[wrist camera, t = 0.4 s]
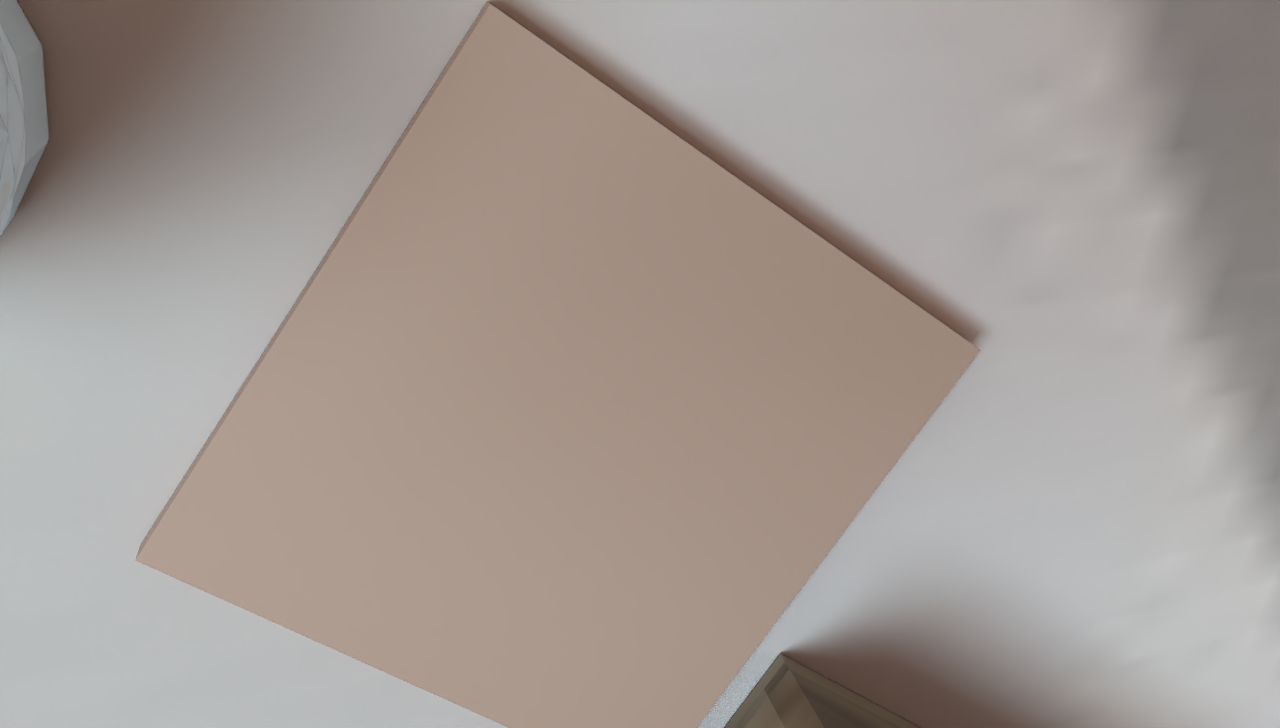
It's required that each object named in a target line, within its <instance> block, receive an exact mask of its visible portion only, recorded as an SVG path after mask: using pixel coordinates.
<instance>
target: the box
mask: <svg viewBox="0 0 1280 728" xmlns="http://www.w3.org/2000/svg"><path fill="white" fill-rule="evenodd" d="M724 728H920V727H918V726H917V725H915V724H913V723H911V722H909V721H907V720H905V719H903V718H901V717H899V716H898V715H896V714H894V713H892V712H890V711H888V710H886V709H884V708H882V707H880V706H879V705H877V704H875V703H873V702H871V701H869V700H867V699H865V698H863V697H861V696H860V695H858V694H856V693H854V692H852V691H850V690H848V689H846V688H844V687H842V686H841V685H839V684H837V683H835V682H833V681H831V680H829V679H827V678H825V677H824V676H822V675H820V674H818V673H816V672H814V671H812V670H810V669H808V668H806V667H805V666H803V665H801V664H799V663H797V662H795V661H793V660H791V659H789V658H787V657H786V656H784V655H782V654H780V655H779V656H778V657H777V659H776V660H775V661H774V663H773V664H772V665H771V667H770V668H769V669H768V671H767V672H766V673H765V675H764V676H763V677H762V679H761V680H760V681H759V682H758V684H757V685H756V686H755V688H754V689H753V690H752V692H751V693H750V694H749V696H748V697H747V698H746V700H745V701H744V702H743V704H742V705H741V706H740V708H739V709H738V710H737V712H736V713H735V714H734V716H733V717H732V718H731V720H730V721H729V722H728V723H727V725H726V726H725V727H724Z"/></svg>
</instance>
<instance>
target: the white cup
mask: <svg viewBox="0 0 1280 728" xmlns="http://www.w3.org/2000/svg"><path fill="white" fill-rule="evenodd" d="M48 141H49V131H48V118H47V104H46V90H45V77H44V63H43V49H42V45H41V43H40V41H39V39H38V38H37V36H36V34H35V32H34V30H33V29H32V27H31V25H30V23H29V22H28V20H27V18H26V16H25V15H24V13H23V11H22V9H21V7H20V6H19V4H18V2H17V0H0V236H1V234H2V232H3V230H4V229H5V228H6V227H7V226H8V224H9V223H10V222H11V221H12V219H13V217H14V215H15V213H16V211H17V209H18V206H19V204H20V202H21V200H22V198H23V195H24V193H25V191H26V189H27V187H28V185H29V182H30V180H31V178H32V176H33V174H34V171H35V169H36V167H37V165H38V163H39V161H40V158H41V156H42V154H43V152H44V150H45V148H46V145H47V143H48Z"/></svg>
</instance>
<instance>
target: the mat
mask: <svg viewBox="0 0 1280 728" xmlns="http://www.w3.org/2000/svg"><path fill="white" fill-rule="evenodd" d="M979 351H980V349H978V348H977V347H976V346H974V345H973V344H971V343H970V342H969V341H967V340H966V339H964V338H963V337H961V336H960V335H959V334H957V333H956V332H954V331H953V330H952V329H950V328H949V327H947V326H946V325H944V324H943V323H942V322H940V321H939V320H937V319H936V318H935V317H933V316H932V315H930V314H929V313H927V312H926V311H925V310H923V309H922V308H920V307H919V306H918V305H916V304H915V303H913V302H912V301H910V300H909V299H908V298H906V297H905V296H903V295H902V294H901V293H899V292H898V291H896V290H895V289H893V288H892V287H891V286H889V285H888V284H886V283H885V282H884V281H882V280H881V279H879V278H878V277H876V276H875V275H874V274H872V273H871V272H869V271H868V270H867V269H865V268H864V267H862V266H861V265H860V264H858V263H857V262H855V261H854V260H852V259H851V258H850V257H848V256H847V255H845V254H844V253H843V252H841V251H840V250H838V249H837V248H835V247H834V246H833V245H831V244H830V243H828V242H827V241H826V240H824V239H823V238H821V237H820V236H818V235H817V234H816V233H814V232H813V231H811V230H810V229H809V228H807V227H806V226H804V225H803V224H801V223H800V222H799V221H797V220H796V219H794V218H793V217H792V216H790V215H789V214H787V213H786V212H784V211H783V210H782V209H780V208H779V207H777V206H776V205H775V204H773V203H772V202H770V201H769V200H767V199H766V198H765V197H763V196H762V195H760V194H759V193H758V192H756V191H755V190H753V189H752V188H750V187H749V186H748V185H746V184H745V183H743V182H742V181H741V180H739V179H738V178H736V177H735V176H734V175H732V174H731V173H729V172H728V171H726V170H725V169H724V168H722V167H721V166H719V165H718V164H717V163H715V162H714V161H712V160H711V159H709V158H708V157H707V156H705V155H704V154H702V153H701V152H700V151H698V150H697V149H695V148H694V147H692V146H691V145H690V144H688V143H687V142H685V141H684V140H683V139H681V138H680V137H678V136H677V135H675V134H674V133H673V132H671V131H670V130H668V129H667V128H666V127H664V126H663V125H661V124H660V123H658V122H657V121H656V120H654V119H653V118H651V117H650V116H649V115H647V114H646V113H644V112H643V111H641V110H640V109H639V108H637V107H636V106H634V105H633V104H632V103H630V102H629V101H627V100H626V99H625V98H623V97H622V96H620V95H619V94H617V93H616V92H615V91H613V90H612V89H610V88H609V87H608V86H606V85H605V84H603V83H602V82H600V81H599V80H598V79H596V78H595V77H593V76H592V75H591V74H589V73H588V72H586V71H585V70H583V69H582V68H581V67H579V66H578V65H576V64H575V63H574V62H572V61H571V60H569V59H568V58H566V57H565V56H564V55H562V54H561V53H559V52H558V51H557V50H555V49H554V48H552V47H551V46H549V45H548V44H547V43H545V42H544V41H542V40H541V39H540V38H538V37H537V36H535V35H534V34H532V33H531V32H530V31H528V30H527V29H525V28H524V27H523V26H521V25H520V24H518V23H517V22H516V21H514V20H513V19H511V18H510V17H508V16H507V15H506V14H504V13H503V12H501V11H500V10H499V9H497V8H496V7H494V6H493V5H491V4H490V3H488V2H486V4H485V6H484V7H483V9H482V10H481V12H480V13H479V15H478V17H477V18H476V20H475V21H474V23H473V24H472V26H471V28H470V29H469V31H468V32H467V34H466V35H465V37H464V38H463V40H462V42H461V43H460V45H459V46H458V48H457V49H456V51H455V53H454V54H453V56H452V57H451V59H450V60H449V62H448V64H447V65H446V67H445V68H444V70H443V71H442V73H441V75H440V76H439V78H438V79H437V81H436V82H435V84H434V86H433V87H432V89H431V90H430V92H429V93H428V95H427V96H426V98H425V100H424V101H423V103H422V104H421V106H420V107H419V109H418V111H417V112H416V114H415V115H414V117H413V118H412V120H411V122H410V123H409V125H408V126H407V128H406V129H405V131H404V133H403V134H402V136H401V137H400V139H399V140H398V142H397V144H396V145H395V147H394V148H393V150H392V151H391V153H390V154H389V156H388V158H387V159H386V161H385V162H384V164H383V165H382V167H381V169H380V170H379V172H378V173H377V175H376V176H375V178H374V180H373V181H372V183H371V184H370V186H369V187H368V189H367V191H366V192H365V194H364V195H363V197H362V198H361V200H360V202H359V203H358V205H357V206H356V208H355V209H354V211H353V212H352V214H351V216H350V217H349V219H348V220H347V222H346V223H345V225H344V227H343V228H342V230H341V231H340V233H339V234H338V236H337V238H336V239H335V241H334V242H333V244H332V245H331V247H330V249H329V250H328V252H327V253H326V255H325V256H324V258H323V260H322V261H321V263H320V264H319V266H318V267H317V269H316V270H315V272H314V274H313V275H312V277H311V278H310V280H309V281H308V283H307V285H306V286H305V288H304V289H303V291H302V292H301V294H300V296H299V297H298V299H297V300H296V302H295V303H294V305H293V307H292V308H291V310H290V311H289V313H288V314H287V316H286V318H285V319H284V321H283V322H282V324H281V325H280V327H279V328H278V330H277V332H276V333H275V335H274V336H273V338H272V339H271V341H270V343H269V344H268V346H267V347H266V349H265V350H264V352H263V354H262V355H261V357H260V358H259V360H258V361H257V363H256V365H255V366H254V368H253V369H252V371H251V372H250V374H249V375H248V377H247V379H246V380H245V382H244V383H243V385H242V386H241V388H240V390H239V391H238V393H237V394H236V396H235V397H234V399H233V401H232V402H231V404H230V405H229V407H228V408H227V410H226V412H225V413H224V415H223V416H222V418H221V419H220V421H219V423H218V424H217V426H216V427H215V429H214V430H213V432H212V433H211V435H210V437H209V438H208V440H207V441H206V443H205V444H204V446H203V448H202V449H201V451H200V452H199V454H198V455H197V457H196V459H195V460H194V462H193V463H192V465H191V466H190V468H189V470H188V471H187V473H186V474H185V476H184V477H183V479H182V481H181V482H180V484H179V485H178V487H177V488H176V490H175V491H174V493H173V495H172V496H171V498H170V499H169V501H168V502H167V504H166V506H165V507H164V509H163V510H162V512H161V513H160V515H159V517H158V518H157V520H156V521H155V523H154V524H153V526H152V528H151V529H150V531H149V532H148V534H147V535H146V537H145V539H144V540H143V542H142V543H141V545H140V548H139V551H138V554H137V557H136V561H138V562H140V563H142V564H145V565H147V566H149V567H151V568H154V569H156V570H158V571H160V572H163V573H165V574H167V575H169V576H172V577H174V578H176V579H178V580H180V581H183V582H185V583H187V584H189V585H192V586H194V587H196V588H198V589H201V590H203V591H205V592H207V593H209V594H212V595H214V596H216V597H218V598H221V599H223V600H225V601H227V602H230V603H232V604H234V605H236V606H239V607H241V608H243V609H245V610H247V611H250V612H252V613H254V614H256V615H259V616H261V617H263V618H265V619H268V620H270V621H272V622H274V623H276V624H279V625H281V626H283V627H285V628H288V629H290V630H292V631H294V632H297V633H299V634H301V635H303V636H305V637H308V638H310V639H312V640H314V641H317V642H319V643H321V644H323V645H326V646H328V647H330V648H332V649H335V650H337V651H339V652H341V653H343V654H346V655H348V656H350V657H352V658H355V659H357V660H359V661H361V662H364V663H366V664H368V665H370V666H372V667H375V668H377V669H379V670H381V671H384V672H386V673H388V674H390V675H393V676H395V677H397V678H399V679H402V680H404V681H406V682H408V683H410V684H413V685H415V686H417V687H419V688H422V689H424V690H426V691H428V692H431V693H433V694H435V695H437V696H439V697H442V698H444V699H446V700H448V701H451V702H453V703H455V704H457V705H460V706H462V707H464V708H466V709H469V710H471V711H473V712H475V713H477V714H480V715H482V716H484V717H486V718H489V719H491V720H493V721H495V722H498V723H500V724H502V725H504V726H506V727H509V728H697V727H698V725H699V724H700V723H701V721H702V720H703V719H704V717H705V716H706V715H707V713H708V712H709V711H710V709H711V708H712V707H713V705H714V704H715V703H716V701H717V700H718V699H719V697H720V696H721V695H722V693H723V692H724V691H725V689H726V688H727V687H728V685H729V684H730V683H731V681H732V680H733V679H734V677H735V676H736V675H737V673H738V672H739V671H740V669H741V668H742V667H743V665H744V664H745V663H746V661H747V660H748V659H749V657H750V656H751V655H752V653H753V652H754V651H755V649H756V648H757V647H758V645H759V644H760V643H761V642H762V640H763V639H764V638H765V636H766V635H767V634H768V632H769V631H770V630H771V628H772V627H773V626H774V624H775V623H776V622H777V620H778V619H779V618H780V616H781V615H782V614H783V612H784V611H785V610H786V608H787V607H788V606H789V604H790V603H791V602H792V600H793V599H794V598H795V596H796V595H797V594H798V592H799V591H800V590H801V588H802V587H803V586H804V584H805V583H806V582H807V580H808V579H809V578H810V576H811V575H812V574H813V572H814V571H815V570H816V568H817V567H818V566H819V564H820V563H821V562H822V560H823V559H824V558H825V556H826V555H827V554H828V552H829V551H830V550H831V548H832V547H833V546H834V544H835V543H836V542H837V540H838V539H839V538H840V536H841V535H842V534H843V532H844V531H845V530H846V528H847V527H848V526H849V524H850V523H851V522H852V520H853V519H854V518H855V516H856V515H857V514H858V512H859V511H860V510H861V508H862V507H863V506H864V504H865V503H866V502H867V500H868V499H869V498H870V496H871V495H872V494H873V493H874V491H875V490H876V489H877V487H878V486H879V485H880V483H881V482H882V481H883V479H884V478H885V477H886V475H887V474H888V473H889V471H890V470H891V469H892V467H893V466H894V465H895V463H896V462H897V461H898V459H899V458H900V457H901V455H902V454H903V453H904V451H905V450H906V449H907V447H908V446H909V445H910V443H911V442H912V441H913V439H914V438H915V437H916V435H917V434H918V433H919V431H920V430H921V429H922V427H923V426H924V425H925V423H926V422H927V421H928V419H929V418H930V417H931V415H932V414H933V413H934V411H935V410H936V409H937V407H938V406H939V405H940V403H941V402H942V401H943V399H944V398H945V397H946V395H947V394H948V393H949V391H950V390H951V389H952V387H953V386H954V385H955V383H956V382H957V381H958V379H959V378H960V377H961V375H962V374H963V373H964V371H965V370H966V369H967V367H968V366H969V365H970V363H971V362H972V361H973V359H974V358H975V357H976V355H977V354H978V353H979Z"/></svg>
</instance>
